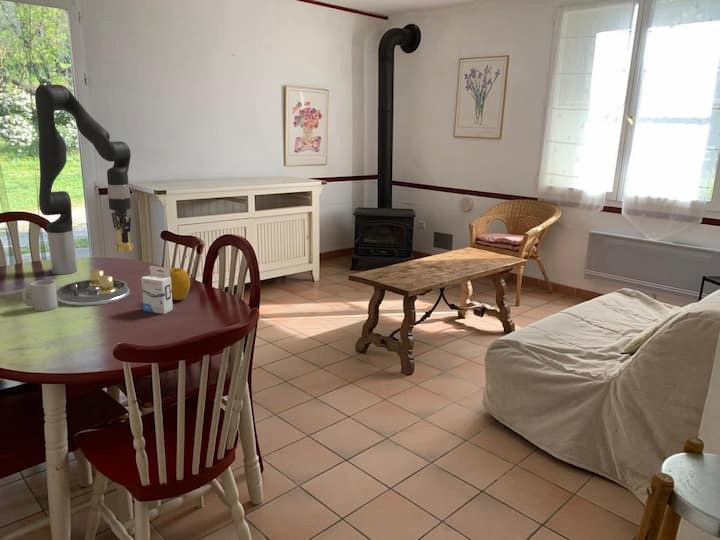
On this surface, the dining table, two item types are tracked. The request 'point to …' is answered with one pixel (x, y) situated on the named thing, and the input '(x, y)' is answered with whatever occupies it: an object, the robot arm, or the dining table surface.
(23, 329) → the dining table surface
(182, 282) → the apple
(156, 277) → the ink box
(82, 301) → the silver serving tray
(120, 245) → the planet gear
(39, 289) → the cup
